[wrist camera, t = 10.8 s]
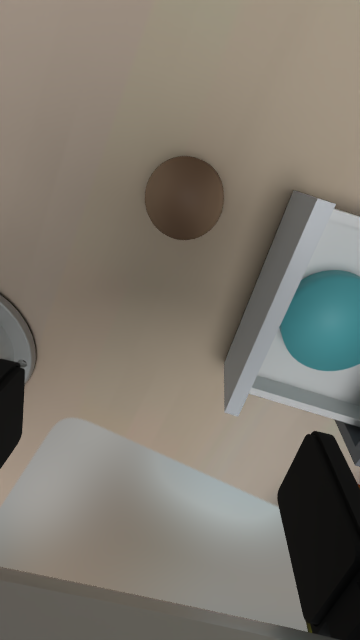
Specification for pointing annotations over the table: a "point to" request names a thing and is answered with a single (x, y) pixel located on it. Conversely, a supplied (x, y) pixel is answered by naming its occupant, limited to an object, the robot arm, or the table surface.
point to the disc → (324, 321)
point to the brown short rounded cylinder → (184, 197)
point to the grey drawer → (271, 306)
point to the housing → (351, 439)
